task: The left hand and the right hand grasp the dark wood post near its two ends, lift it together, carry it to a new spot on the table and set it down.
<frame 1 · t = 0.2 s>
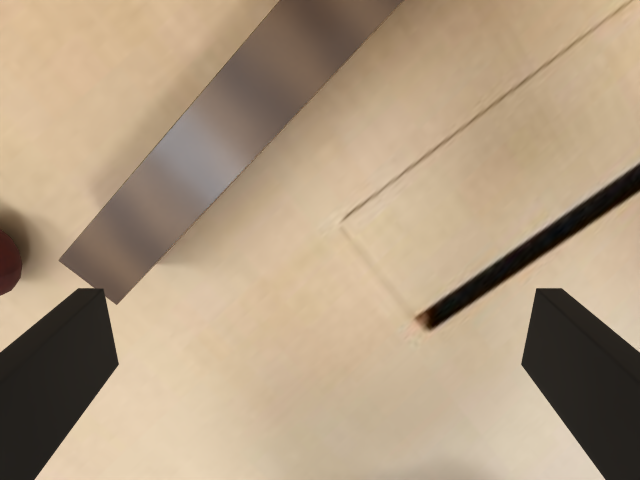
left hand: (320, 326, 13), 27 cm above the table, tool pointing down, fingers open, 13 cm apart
dark red ball: (2, 248, 41), on the table
post: (311, 49, 35), on the table
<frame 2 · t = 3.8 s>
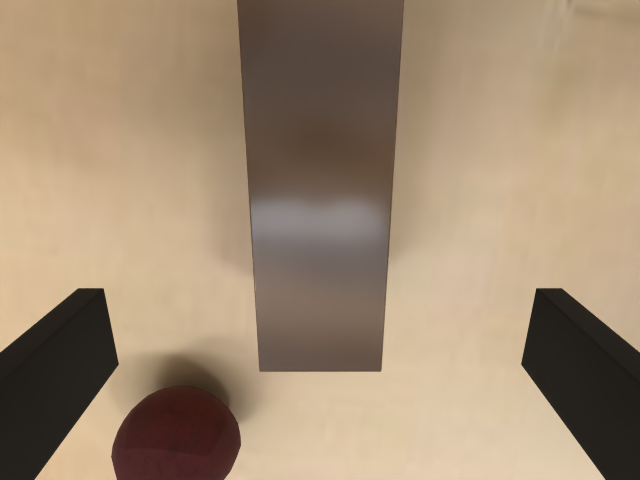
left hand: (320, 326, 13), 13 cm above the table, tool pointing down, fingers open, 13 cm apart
dark red ball: (195, 404, 30), on the table
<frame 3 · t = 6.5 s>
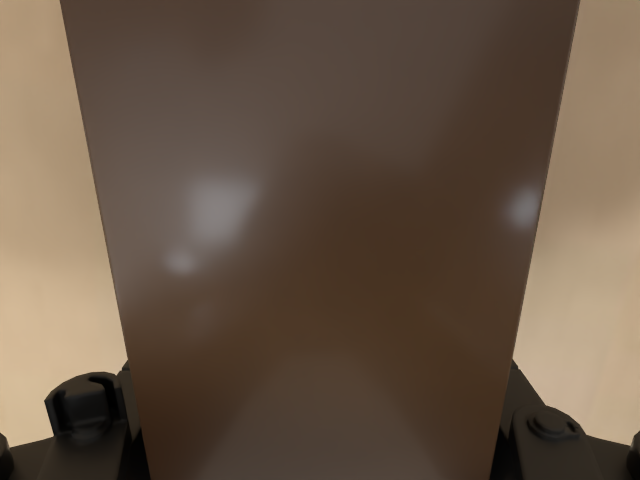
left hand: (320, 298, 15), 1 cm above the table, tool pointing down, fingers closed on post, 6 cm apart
when the left hand's fingers open (2 cm above the table, at t = 12.7 s): post drops 2 cm, on the table.
when the right hand's fingers open (5 cm above the table, at t = 12.9 s): post stays where it is, on the table.
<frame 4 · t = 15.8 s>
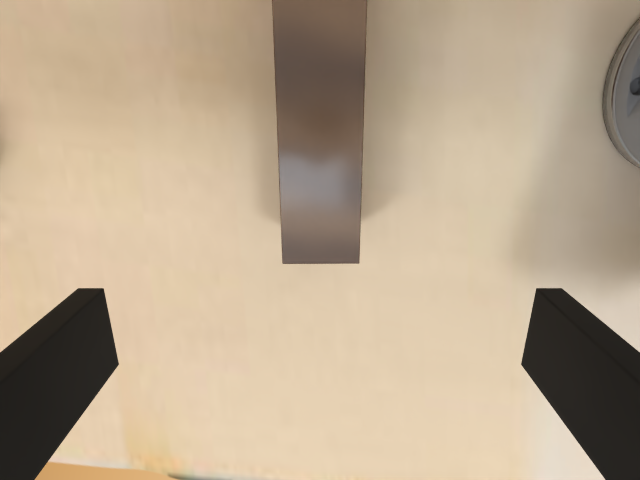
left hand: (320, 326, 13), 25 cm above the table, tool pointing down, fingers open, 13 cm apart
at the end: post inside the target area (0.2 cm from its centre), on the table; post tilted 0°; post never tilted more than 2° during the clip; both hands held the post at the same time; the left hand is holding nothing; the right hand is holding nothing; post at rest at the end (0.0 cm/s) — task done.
